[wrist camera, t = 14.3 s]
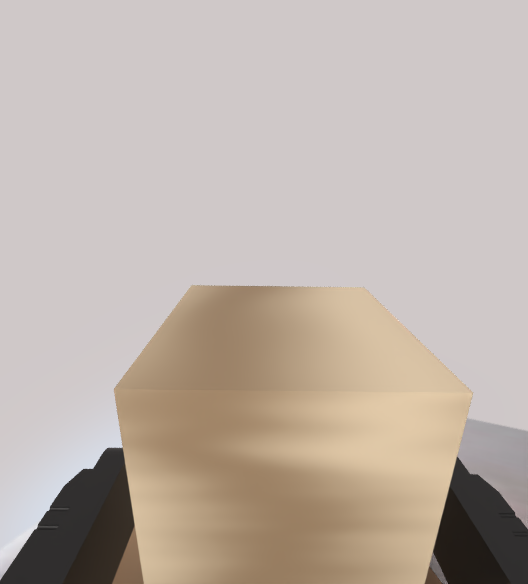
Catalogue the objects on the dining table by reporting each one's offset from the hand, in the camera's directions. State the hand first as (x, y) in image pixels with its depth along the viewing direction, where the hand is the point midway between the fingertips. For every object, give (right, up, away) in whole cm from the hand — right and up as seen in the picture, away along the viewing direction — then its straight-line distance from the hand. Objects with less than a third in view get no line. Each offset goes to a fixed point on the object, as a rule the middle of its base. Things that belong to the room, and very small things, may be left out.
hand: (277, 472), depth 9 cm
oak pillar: (0, -7, +2) cm, 7 cm away
